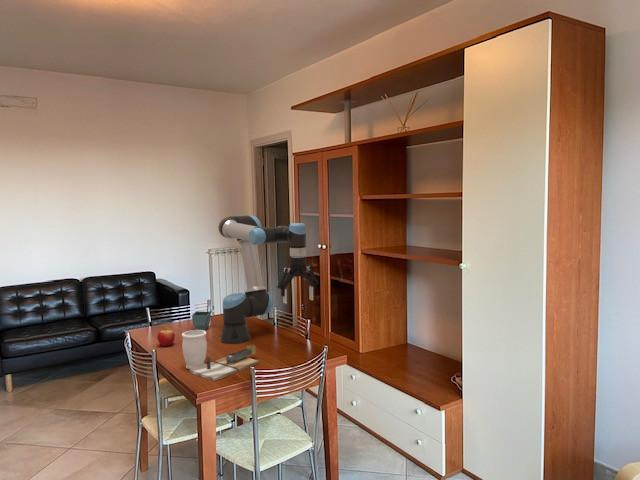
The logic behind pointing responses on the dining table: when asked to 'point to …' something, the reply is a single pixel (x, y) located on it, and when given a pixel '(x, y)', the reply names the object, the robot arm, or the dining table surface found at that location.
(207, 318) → the flower pot
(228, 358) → the latch bar
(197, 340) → the jar
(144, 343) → the dining table surface
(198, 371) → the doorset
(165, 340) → the apple
